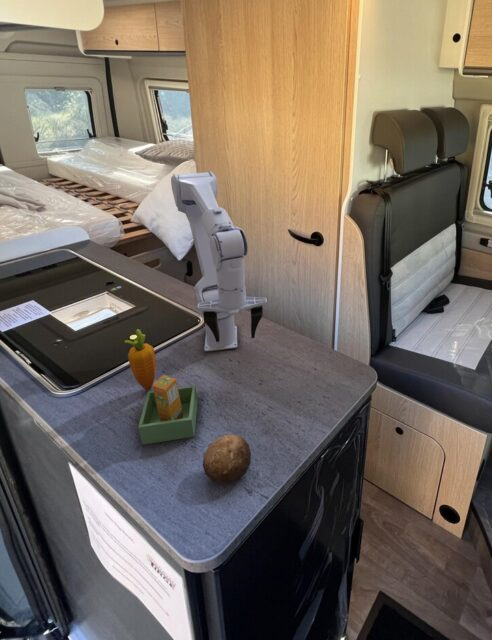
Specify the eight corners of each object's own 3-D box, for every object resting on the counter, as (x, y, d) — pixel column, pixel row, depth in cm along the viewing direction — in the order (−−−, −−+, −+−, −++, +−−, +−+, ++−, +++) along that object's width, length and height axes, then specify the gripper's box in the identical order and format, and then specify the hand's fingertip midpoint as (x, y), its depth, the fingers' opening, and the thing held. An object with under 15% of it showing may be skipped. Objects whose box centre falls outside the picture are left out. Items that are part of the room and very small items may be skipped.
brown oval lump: (226, 425, 73) (223, 422, 67) (261, 451, 72) (260, 450, 66) (197, 466, 69) (190, 466, 64) (232, 494, 68) (229, 496, 62)
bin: (150, 407, 80) (147, 391, 78) (197, 401, 82) (195, 384, 80) (142, 445, 72) (137, 427, 70) (194, 436, 74) (191, 419, 72)
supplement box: (158, 423, 76) (150, 384, 72) (170, 411, 79) (164, 372, 75) (172, 429, 75) (165, 389, 71) (184, 416, 78) (178, 377, 74)
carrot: (151, 400, 82) (140, 342, 76) (130, 396, 83) (117, 338, 76) (165, 384, 86) (155, 328, 80) (145, 380, 87) (134, 324, 81)
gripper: (193, 296, 77) (200, 352, 82) (267, 290, 80) (269, 344, 86) (196, 280, 83) (202, 332, 89) (264, 275, 86) (266, 326, 92)
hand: (235, 337), depth 88 cm, fingers open, 7 cm apart
